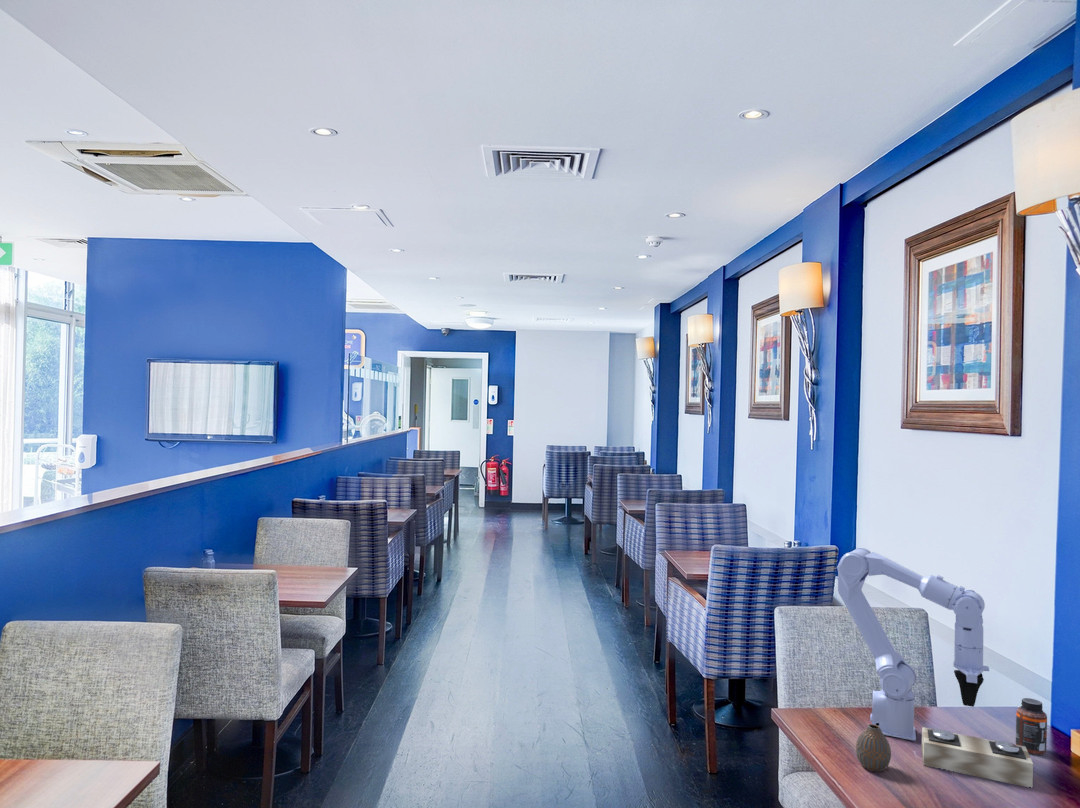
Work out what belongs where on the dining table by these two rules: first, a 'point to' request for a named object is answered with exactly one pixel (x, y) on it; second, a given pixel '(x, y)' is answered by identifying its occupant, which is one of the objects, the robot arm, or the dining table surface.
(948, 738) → the dowel left
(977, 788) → the dining table surface
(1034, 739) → the supplement bottle
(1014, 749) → the dowel right
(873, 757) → the vase
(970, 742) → the birch bar
